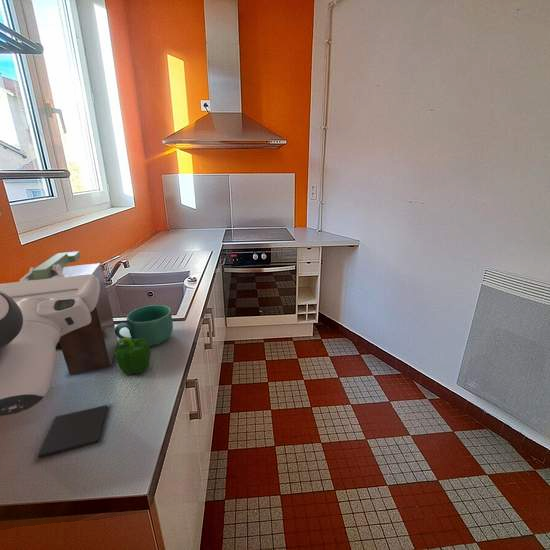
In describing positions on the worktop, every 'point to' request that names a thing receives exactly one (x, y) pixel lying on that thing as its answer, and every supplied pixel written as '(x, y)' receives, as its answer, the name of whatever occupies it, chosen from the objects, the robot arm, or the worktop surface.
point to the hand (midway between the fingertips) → (47, 267)
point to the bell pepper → (132, 355)
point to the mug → (148, 324)
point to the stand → (91, 330)
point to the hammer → (58, 259)
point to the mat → (74, 431)
